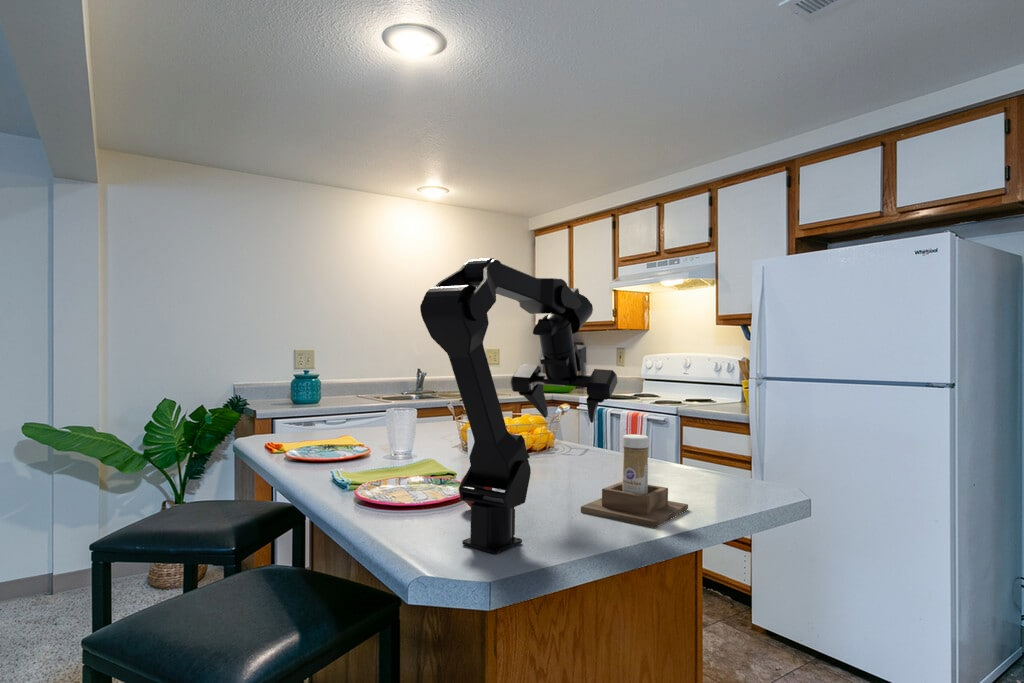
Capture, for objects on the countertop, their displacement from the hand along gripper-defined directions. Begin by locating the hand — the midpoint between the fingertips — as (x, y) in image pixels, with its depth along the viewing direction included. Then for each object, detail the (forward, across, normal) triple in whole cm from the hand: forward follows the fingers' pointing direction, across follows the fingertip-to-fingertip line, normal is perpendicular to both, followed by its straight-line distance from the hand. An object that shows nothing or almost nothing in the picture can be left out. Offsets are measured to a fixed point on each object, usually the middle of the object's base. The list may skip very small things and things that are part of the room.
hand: (568, 418), depth 110 cm
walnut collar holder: (+13, -13, +8) cm, 20 cm away
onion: (+8, +12, +19) cm, 24 cm away
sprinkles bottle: (+13, -13, +8) cm, 20 cm away
